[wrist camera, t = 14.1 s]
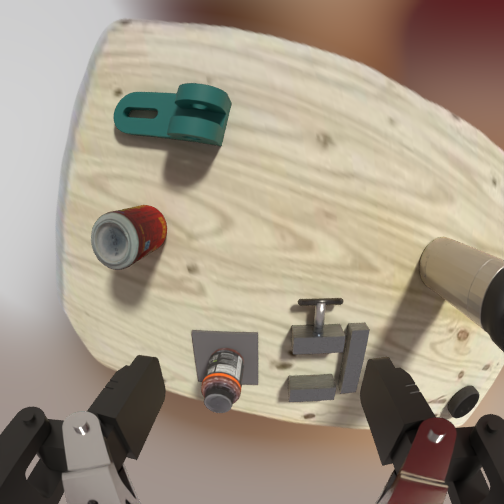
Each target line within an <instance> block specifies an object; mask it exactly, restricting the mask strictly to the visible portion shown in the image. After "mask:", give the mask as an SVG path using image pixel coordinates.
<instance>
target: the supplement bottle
mask: <svg viewBox="0 0 504 504" xmlns="http://www.w3.org/2000/svg"><path fill="white" fill-rule="evenodd" d="M243 370H244V359H243V357H242V356H241V355H240V353H238V352H237V351H236V350H233V349H230V348H221V349H218V350H216V351H215V352H213V354H212V355H211V357H210V360H209V363H208V366H207V369H206V372H205V376H204V379H203V382H202V386H201V392H202V395H203V396H204V398H205V399H204V404H205V406H206V407H207V408H208V409H209V410H211V411H213V412H216V413H224V412H227V411H229V410H230V409H231V407H232V404H234V403H235V402H236V401H237V400H238V399H239V397H240V394H241V386H242V378H243Z"/></svg>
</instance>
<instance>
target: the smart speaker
mask: <svg viewBox="0 0 504 504" xmlns="http://www.w3.org/2000/svg"><path fill="white" fill-rule="evenodd" d="M478 399H479V393H478V391H477V390H476V389H475V388H474V387H473V386H467V387H464V388H463V389H461V390H460V391H458V392H457V393H456V394H455V395H454V396H453V398H452V399H451V401H450V403H449V405H448V410H449V412H450V414H451V415H452V417H454V418H460V417H462V416H464V415H466V414H467V413H469V412H470V411H471V410H472V409H473V408H474V406H475V405H476V403H477V402H478Z"/></svg>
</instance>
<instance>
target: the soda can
mask: <svg viewBox="0 0 504 504" xmlns="http://www.w3.org/2000/svg"><path fill="white" fill-rule="evenodd" d="M166 235H167V224H166V221H165V218H164V216H163V215H162V213H161V212H160V211H159V210H157V209H156V208H154V207H152V206H148V205H141V206H137V207H132V208H127V209H123V210H118V211H113V212H108V213H106V214H104V215H102V216H101V217H99V219H98V220H97V221H96V222H95V224H94V226H93V228H92V234H91V243H92V248H93V251H94V253H95V255H96V257H97V258H98V260H99V261H100V262H101V263H102V264H104V265H105V266H107V267H108V268H111V269H115V270H121V269H124V268H127V267H129V266H130V265H132V264H133V263H135V262H137V261H138V260H140V259H141V258H143V257H145V256H146V255H148V254H149V253H151V252H153V251H154V250H156V249H157V248H159V247H160V246H161V245H162V244H163V242H164V240H165V238H166Z"/></svg>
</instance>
